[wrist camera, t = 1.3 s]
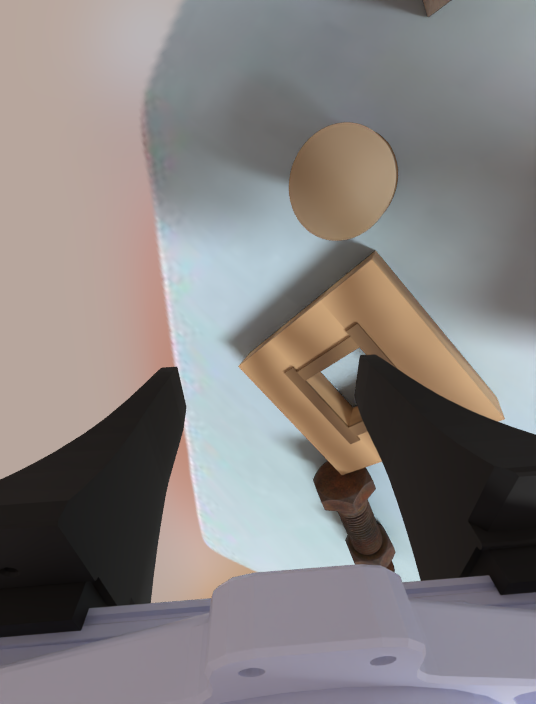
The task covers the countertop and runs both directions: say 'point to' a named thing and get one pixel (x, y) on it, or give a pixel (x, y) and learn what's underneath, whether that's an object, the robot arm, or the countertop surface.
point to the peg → (342, 181)
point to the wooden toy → (434, 5)
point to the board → (373, 338)
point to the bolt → (355, 514)
